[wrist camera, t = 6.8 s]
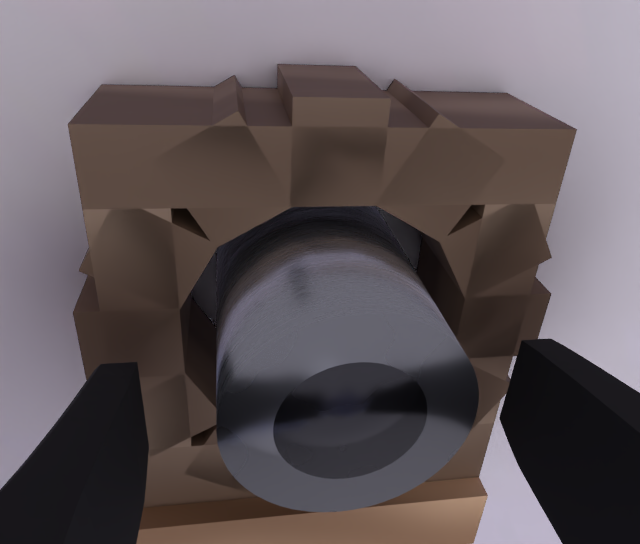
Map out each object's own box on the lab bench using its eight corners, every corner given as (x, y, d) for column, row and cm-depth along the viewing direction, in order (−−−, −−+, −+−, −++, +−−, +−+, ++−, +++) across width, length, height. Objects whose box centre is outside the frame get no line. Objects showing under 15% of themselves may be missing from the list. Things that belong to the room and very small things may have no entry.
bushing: (386, 313, 16) (467, 490, 11) (228, 334, 15) (234, 530, 10) (387, 163, 14) (492, 296, 8) (203, 182, 13) (195, 335, 8)
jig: (443, 454, 19) (486, 552, 16) (139, 480, 18) (121, 594, 14) (532, 71, 13) (629, 111, 10) (72, 58, 11) (16, 101, 8)
